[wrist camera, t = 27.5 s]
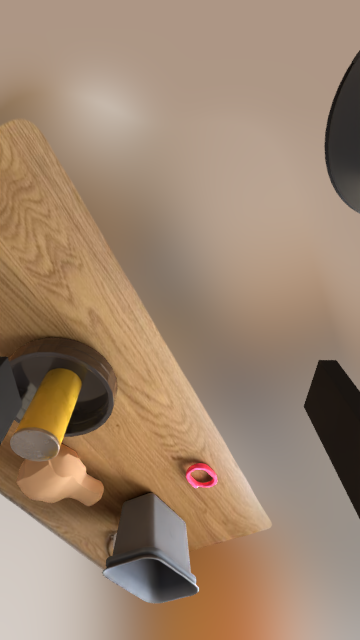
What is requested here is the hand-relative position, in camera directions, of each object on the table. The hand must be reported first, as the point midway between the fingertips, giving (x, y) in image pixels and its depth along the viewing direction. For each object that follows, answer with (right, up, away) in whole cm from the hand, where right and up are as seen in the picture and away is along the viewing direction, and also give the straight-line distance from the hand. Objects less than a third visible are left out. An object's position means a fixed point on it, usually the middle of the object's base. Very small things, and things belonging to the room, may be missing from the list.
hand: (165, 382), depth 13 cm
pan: (-20, -8, +41) cm, 46 cm away
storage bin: (-6, -45, +63) cm, 78 cm away
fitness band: (+5, -31, +56) cm, 64 cm away
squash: (-23, -28, +53) cm, 64 cm away
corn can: (-20, -8, +40) cm, 46 cm away
